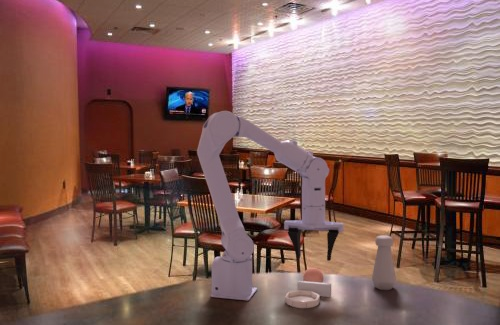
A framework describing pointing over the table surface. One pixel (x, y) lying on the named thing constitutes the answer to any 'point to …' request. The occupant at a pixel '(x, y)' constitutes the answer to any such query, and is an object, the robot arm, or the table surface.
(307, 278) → the ball
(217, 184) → the robot arm
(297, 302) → the coaster
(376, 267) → the salt shaker
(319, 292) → the wall
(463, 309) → the table surface
